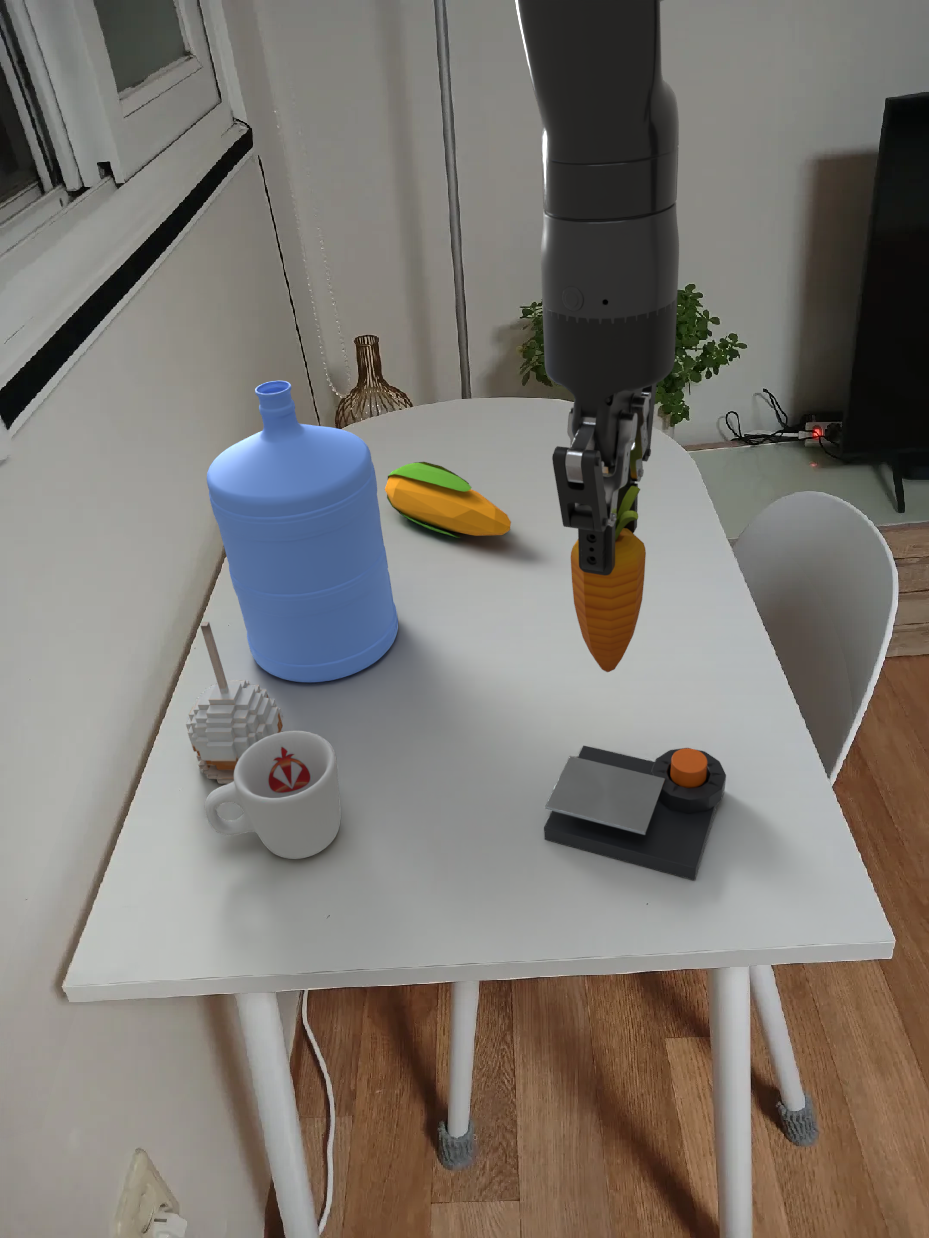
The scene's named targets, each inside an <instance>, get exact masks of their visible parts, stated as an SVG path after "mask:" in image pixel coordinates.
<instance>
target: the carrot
mask: <svg viewBox="0 0 929 1238" xmlns="http://www.w3.org/2000/svg"><path fill="white" fill-rule="evenodd" d="M640 491H641V488H639V486H638V487H637V486H631V487H630V488H629V490H628V491H627V493H626V495H625V497H624V498H623V501H622V504H621V506H620V509H619V512H618V515H617V518H616V521H615V567H614V569H613V570H612V572H611V574H609V575H606V576H605V575H599V574H592V573H586V572H583V571H582V570H581V569H580V568H579V549H578V539H577V540H576V542H575V543H574V544H573V545H572V547H571V551H570V570H571V573H570V574H571V585H572V595H573V596H572V597H573V604H574V608H575V614H576V617H577V618H576V619H577V622H578V626H579V629H580V633H581V636H582V639H583V641H584V643H585V645H586V647H587V649H588V652H589V653H590V654H591V656H592V657H593V659H594V661H595V662H596V664H597V665H598V666H599V668H601V670H602V671H604V672H606V673H610V672H612V671H614V670H615V669H616V668H617V667H618V666H619V664H620V662H621V661H622V659H623V657H624V655H625V654H626V651H627V649H628V647H629V645H630V643H631V641H632V638H633V636H634V634H635V630H636V627H637V623H638V619H639V615H640V612H641V608H642V602H643V594H644V585H645V572H646V558H647V557H646V556H647V555H646V554H647V553H646V546H645V543H644V542H643V541H642V540H641V539H640V538H639V537H638V536H637V535H636V534H635V533H632V532H631V531H630V530H629V529H627V528H624V527H625V525H626V524H627V523H629V522H630V521H632V520H637V521H638V519H639V513H638V511H637V512H635V511H629V510H630V508H631V506H632V504H633V502H634V500H635V498H636V496H637V495H638V496H639V493H640Z"/></svg>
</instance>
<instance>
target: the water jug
mask: <svg viewBox="0 0 929 1238" xmlns="http://www.w3.org/2000/svg"><path fill="white" fill-rule="evenodd" d="M291 391H292V385H291V383H290V382H288V381H286V380H270V381H267V382H264V383H262V384H260V385H258V386H256V387H255V389H254V392H255V395H256V397H258V401H259V405H258V409H259V410H258V411H259V414H260V416H261V420H262V424H263V428H262V430H261V431H259V432H256V433H254V434H253V435H251V436H249V437H248V436H247V438H243V440H240V441H238V442H236V443H234V444H233V445H231V446H229V447H227V448H226V449H225V450H224V451H222V452H221V453H220V454H219V455H218V456H216V457H215V459H213V461H212V462H211V464H210V465H209V467H208V468H207V469H208V470H207V473H206V484H207V488H208V496H209V502H210V507H211V509H212V514H213V516H214V519H215V521H216V523H217V526H218V529H219V532H220V533H219V534H220V536H221V541H222V544H223V547H224V553H225V556H226V560H227V563H228V571H229V577H230V580H231V584H232V588H233V590H234V593H235V595H236V597H237V600H238V604H239V608H240V612H241V615H242V618H243V621H244V626H245V629H246V630H245V631H246V639H247V643H248V647H249V650H250V654H251V656H252V658H253V660H254V662H255V663H256V664H257V665H258V666H259V667H260V668H261V669H263V670H264V671H265V672H267V673H268V674H270V675H272V676H274V677H277V678H280V679H282V680H287V681H290V682H297V683H322V682H328V681H335V680H339V679H342V678H346V677H349V676H352V675H354V674H356V673H357V674H358V673H359V672H361V671H363V670H365V669H367V668H369V667H370V666H372V665H373V664H374V663H377V662H378V661H379V660H380V659H381V658H383V656H384V655H385V654H387V652H388V651H389V650H390V648H391V647H392V645H393V644H394V642H395V640H396V637H397V634H398V630H399V619H398V612H397V607H396V603H395V601H394V596H393V589H392V588H393V587H392V583H391V577H390V576H391V575H390V572H389V563H388V558H387V552H386V550H387V549H386V546H385V542H384V537H383V529H382V522H381V513H380V505H379V504H380V503H379V499H378V482H377V476H376V475H377V474H376V470H375V465H374V463H373V460H372V453H371V450H370V447H369V445H367V443H366V442H365V441H364V440H363V439H362V438H361V437H360V436H358V435H356V434H354V433H353V432H350V431H348V430H344V429H341V428H337V427H331V426H321V425H314V424H312V425H311V424H305V423H300V422H299V421H298V418H297V414H296V405H295V401H294V400H293V398H292V394H291Z"/></svg>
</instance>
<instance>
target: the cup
mask: <svg viewBox="0 0 929 1238" xmlns="http://www.w3.org/2000/svg"><path fill="white" fill-rule="evenodd" d="M338 774H339V773H338V763H337V757H336V752H335V750H334V748H333V746H332V744H331V743H330V742H329V741H328V740H327V739H326V738H324V737H323V736H321V735H319V734H316V733H314V732H310V731H305V730H286V731H283V732H280V733H276V734H273V735H270V736H268V737H265V738H263V739H261V740H259V741H258V742H256V743H254V744H253V745H252V746H251V747H249V748H248V749H247V750H246V751H245V752H244V753H243V754H242V756H241V757H240V758H239V760H238V762H237V764H236V766H235V770H234V781H233V782H231V783H225V784H224V785H222V786H219V787H217V788H215V789H213V790H212V791H211V792H210V793H209V794H208V795H207V797H206V799H205V802H204V812H205V813H204V814H205V816H206V819H207V822H208V824H209V825H210V827H211V828H212V829H213V831H215V832H217V833H219V835H223V836H236V835H241V834H245V833H250V832H252V833H255V834H256V835H257V837H259V839H260V840H261V842H262V843H263V845H264V847H266V848H267V850H269V851H270V852H271V853H272V854H274V855H276V856H278V857H281V858H283V859H289V860H299V859H304V858H309V857H312V856H315V855H316V854H318V853H320V852H322V851H323V850H324V849H326V848H327V847H329V845H330V844H331V843H332V842H333V841H334V840H335V838H336V837H337V835H338V832H339V831H340V826H341V820H342V819H341V816H342V814H341V813H342V811H341V800H340V787H339V775H338ZM227 803H233V804H235V805H237V806H238V807H239V808H240V809H241V810H242V814H241V816H240V817H238V818H235V819H233V820H232V819H231V820H227V819H225V818H223V817H221V816H220V815H219V813H218V811H217V808H219V806H220V805H222V804H227Z"/></svg>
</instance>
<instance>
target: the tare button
mask: <svg viewBox="0 0 929 1238" xmlns="http://www.w3.org/2000/svg"><path fill="white" fill-rule="evenodd" d="M685 748H686V749H681V748H680V749H681V750H678V751H676V752H675V753H674V754H673V756H672V758H671V774H670V775H671V778H672V780H673V781H674V782H675V783H676V784H677V785H679V786H681V787H685V788H696V787H699V786H701V785H702V784H703V783H704V782H705V780H706V773H707V758H706V757H705V755H704V754H703V753H701V752H700V751H701V750H700V751H698V750H699V749H696V750H695V748H691V749H689V748H690V747H685Z"/></svg>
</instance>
